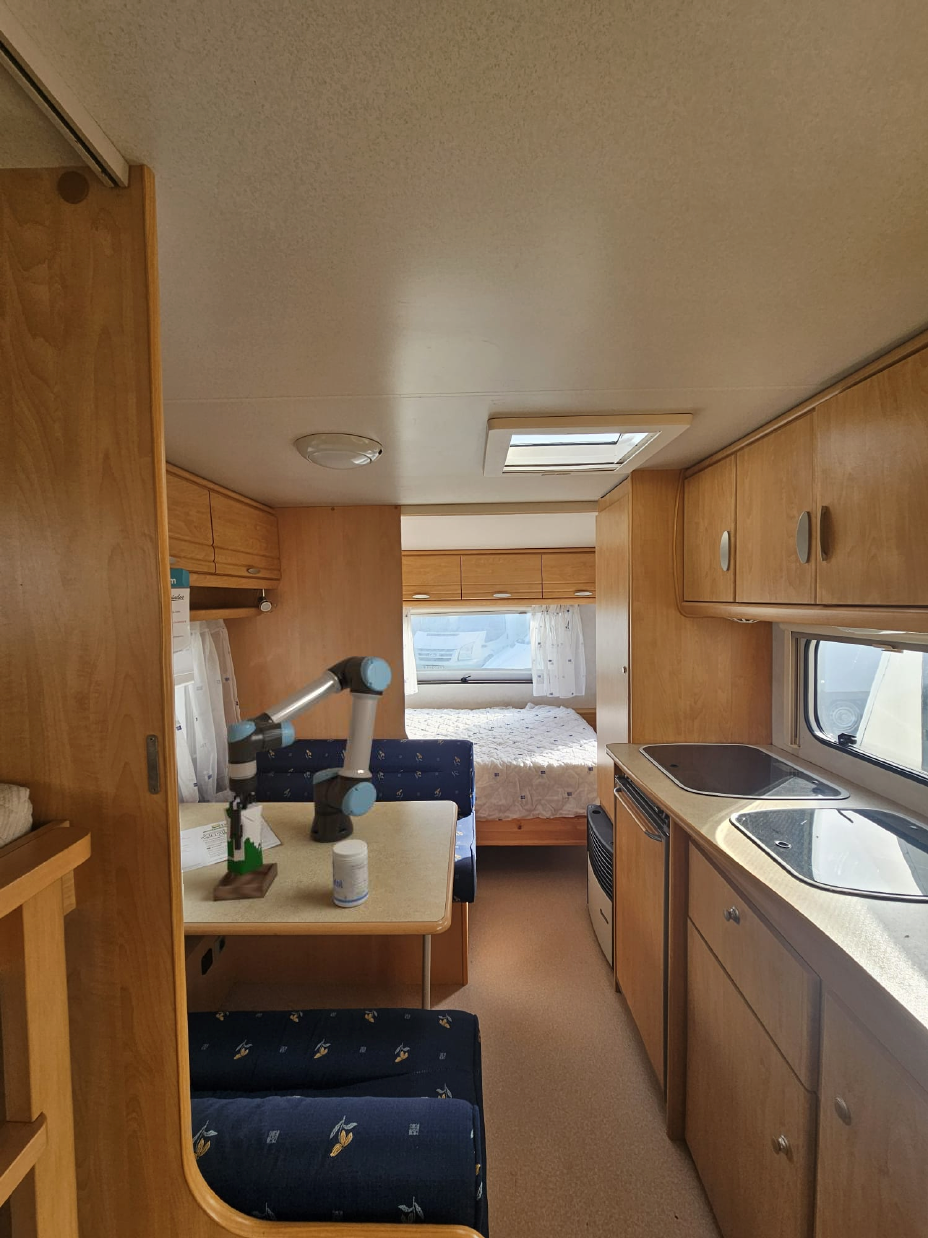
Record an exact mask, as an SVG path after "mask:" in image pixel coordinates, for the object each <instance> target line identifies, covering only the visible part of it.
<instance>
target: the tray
mask: <svg viewBox="0 0 928 1238" xmlns="http://www.w3.org/2000/svg"><path fill="white" fill-rule="evenodd" d="M277 875H278V863H277V862H267V863H263V866H261V867H258V868H256V869H254V870H252V871H250V872H248V873H246V874H244V875H239V874H236V873H234V872H231V871H228V870H226V872H225V874H224V875H222V878H221V879H220V880H219V881H218V883H216V885H215V886H214V888H213V889H212V890H213V891H212V895H213V902H223V901H235V900H237V901H240V900H250V899H252V900H253V899H264V898H265V896H266V894H267V893H268V892H269V891H268V890H270V888H271V886H272V884H273V882H274V881H275V879H277V878H276V877H277Z"/></svg>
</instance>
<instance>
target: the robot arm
mask: <svg viewBox="0 0 928 1238" xmlns="http://www.w3.org/2000/svg"><path fill="white" fill-rule="evenodd" d="M391 682H392V670H391V668H390V666H389V664H388V663H387V662H386V661H385V660H384V659H383V658H380V657H375V656H358V655H356V656H354V655H353V656H349V657H347V658H344V659H342V660H341V661H339V662H337V663H335V664H333V665H331V666H330V667H328V668H327V669H325V670H324V671H323V672H322V675H321V676H320V677H318V678H316V679H315V680H313V681H311V682H310V683H308V684H307V685H305V686H304V687H302V688H300V689H299V690H297V691H296V692H294V693H291V694H290V695H289V696H287V697H286V698H284V699H283V700H281V701H280V702H279V703H277V704H275V705H273V706H272V707H270V708H268V709H266V710H265V711H264V712H261V713H260V714H259V715H257V716H255V717H248V718H245V719H243V720H241V721H236V722H231V723H230V724H229V725H228V726H227V731H226V742H227V757H228V758H227V761H228V764H227V765H226V768H227V769H228V776H229V778H228V790H229V791H230V792H231V793H234V802H231V801H230V802H231V803H230V807H231V820H230V839H233V841H234V861H238V860H244V837H242V836H243V825H241V810H246V809H247V808H248V805H249V803H250V804H252V803H253V802H254V803H257V799H256V788H257V787H258V785H257V783H258V782H257V781H258V780H257V774H256V773H257V753H259V752H265V751H268V750H274V749H279V748H284V747H288V746H290V745H292V744H293V743H294V741H295V738H296V735H295V733H296V732H295V727H294V725H293V724H292V723H291V722H292V721H293V720H295V719H296V718H298V717H300V716H301V715H303V714H304V713H305V712H307V711H308V710H310V709H312V708H313V707H315V706H317V705H318V704H319V703H321V702H322V701H324V700H325V699H327V698H329V697H330V696H331V695H333V694H340V693H341V692H343V691H344V690H347V689H349V695H350V696H351V698H352V703H351V710H350V711H351V712H350V720H349V724H348V725H349V727H348V734H347V741H346V747H345V754H344V761H343V767H334V768H327V769H323V770H319V771H318V772H316V773H315V774H314V775H313V778H312V779H313V780H312V785H313V788H312V789H313V807H314V816H313V819H312V824H311V827H310V830H309V835H310V839H311V840H312V841H313V842H318V843H332V842H333V843H334V842H338V841H343V840H345V839H346V838H347V839H348V838H349V837H350V836H351V835H352V834H353V833H354V823H353V821H352V818H351V817H362V816H364V815H367V813H368V812H369V811H370V810H371V809H372V808H373V806H374V805H375V802H376V799H377V790H376V788H375V786H374V784H372V779H373V775H372V773H371V772H370V770H369V768H370V767H369V766H370V759H371V752H372V745H373V738H374V737H373V736H374V730H375V723H376V722H375V721H376V714H377V707H378V701H379V700H380V699H382V698H383V693H384V691H385V690H387V688H388V687H389V686H390V685H391V684H390V683H391ZM241 806H242V808H244V809H241Z"/></svg>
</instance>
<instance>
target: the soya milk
mask: <svg viewBox="0 0 928 1238" xmlns="http://www.w3.org/2000/svg"><path fill="white" fill-rule="evenodd" d="M231 802H234V800H233V799H232V800H230V801H229V802H228V807H225V808H223V809H222V810H223V814H224V818H225V824H226V842H227V844H226V846H227V859H226V860H227V861H226V862H227V863H226V865H227V866H226V868H227V869H226V871H231V872H234V873H236V874H239V875H244V874H246V873H248V872H250V871H252V870H254V869H256V868H258V867H261V866H263V864H264V859H263V848H262V822H261V818H262V811H263V810H262V809H263V804H261V803H258V802H256V803H254V802H253V803H252V804H250V803H249V805H248V808H247V809H246V810H241V825H243V836H242V837H244V860H238V861H234V841H233V839H230V820H231V807H230V803H231ZM241 809H244V808H242V806H241Z"/></svg>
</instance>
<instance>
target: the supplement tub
mask: <svg viewBox="0 0 928 1238" xmlns="http://www.w3.org/2000/svg"><path fill="white" fill-rule="evenodd" d="M368 853H369V852H368V844H367V843H366V841H363V840H361V839H348V840H347V839H346V840H341V841H340V842H338V843H336V844H335V845H334V846H333V848H332V854H331V856H332V857H331V858H332V889H333V893H332V894H333V895H332V896H333V902H334V903H335V904H336V905H337V906H339V907H342V908H354V907H357V906H359V905H363V904H364V903H365V902H366V901H367V900H368V898H369V891H370V889H369V886H370V885H369V856H368Z"/></svg>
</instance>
